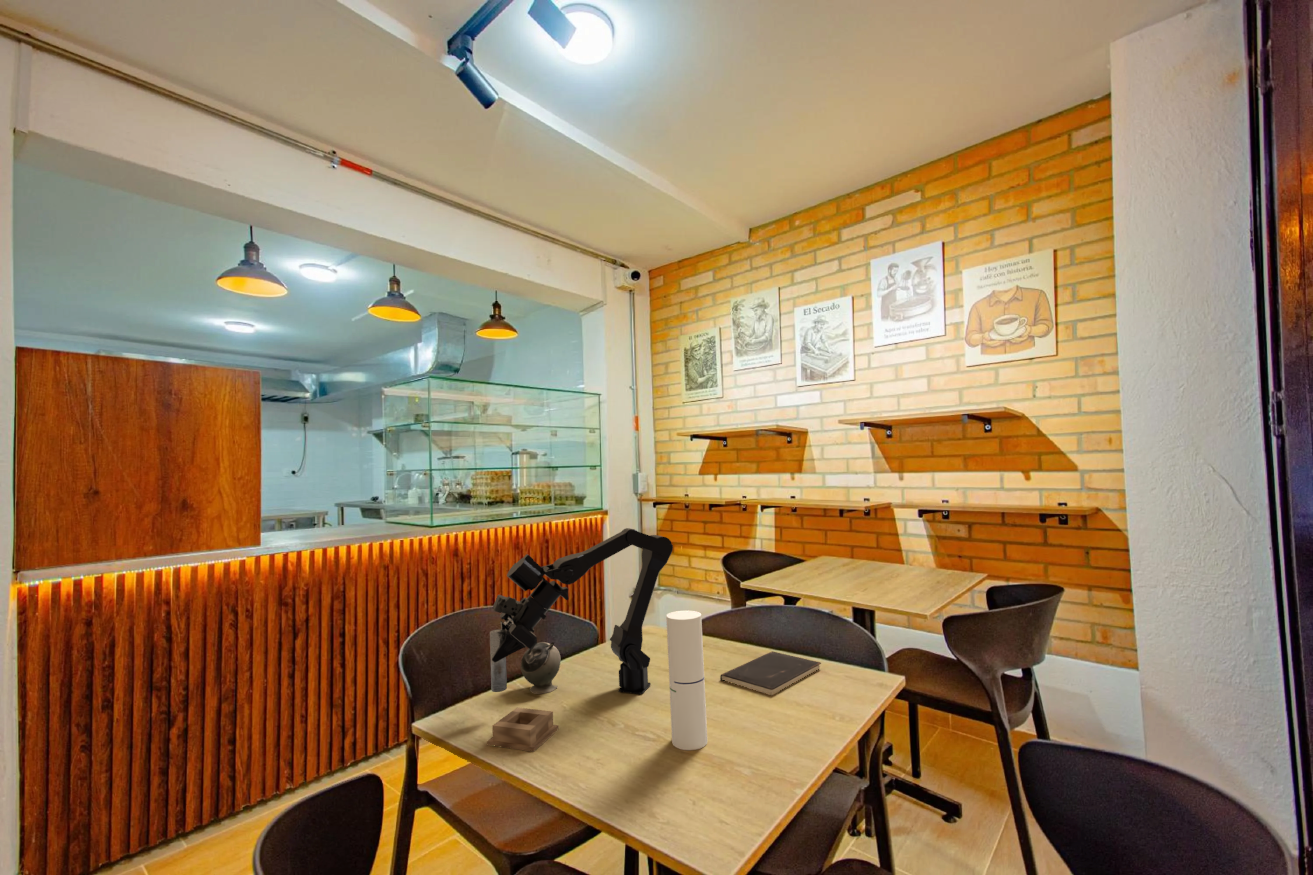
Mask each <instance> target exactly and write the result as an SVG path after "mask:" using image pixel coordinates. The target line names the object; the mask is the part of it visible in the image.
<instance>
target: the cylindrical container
mask: <svg viewBox="0 0 1313 875" xmlns="http://www.w3.org/2000/svg"><path fill="white" fill-rule="evenodd" d="M702 622H703V621H702V613H701V612H699V611H696V610H677V611H671V612H668V613H666V637H667V657H668V658H667V659H668V662H667V664H668V679H669V680H668V681H669V685H668V686H669V705H670V724H671V725H670V726H671V727H670V729H671V742H672V743H671V744H672V745H673V747H675V748H677V749H680V750H683V751H696V750H700V749H702V748H703V747H705V746H707V745H708V727H707V726H708V724H707V706H706V703H707V701H706V684H705V664H704V661H705V660H704V645H703V644H704V643H703V625H702V624H703V623H702Z"/></svg>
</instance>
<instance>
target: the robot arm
mask: <svg viewBox="0 0 1313 875" xmlns="http://www.w3.org/2000/svg"><path fill="white" fill-rule="evenodd" d="M673 545H674V544H673V543H672V541H671V540H670V538H668V537H667V536H663V535H658V534H651V535H650V534H646V533H644V532H640V531H638V530H637V529H635V528H630V527H628V528H627V527H626V528H624V529H622V531H621V530H620V532H618V533H616V534H614V535H613V536H611V537H609V538H607V539H605V540H602V541H601V542H598V544H597V543H596V544H595V545H593V546H592V547H590V548H588V549H585V550H584V551H581V552H577V553H571V554H569V555H566V556H563V557H559V558H557V559H556V560H555V561H554V562H553V563H550V564H546V565H543V566H541V565H540V564H538V563H537V561H535V559H533V557H532V556H530V555H529V554H528V553H527V554H525V555H524V556H523V557H522V558H520V559H519V560H518V561H517V562H514V564H513V565H512V567H510V569H509V570H508V572H507V574H506V577H507V578H508V579H509V580H511V581H512V582H513V583H514V584H516V585H517V586H518V587H519V588H520V589H522V590H523V591H524V592H527V591H528V590H530V591H531V593H530V594H528V597H522V599H520V601H519V600H516V598H515V597H511V596H504V595H502V594H497V596H496V597H495V601H494V604H493V605H492V609H493V611H494V612H497V613H499V618H500V619H501V620H504V622H503V621H501V620H500V629H503V630H505V639H504V640H503V642H502V643H501V645H500V646H499V648H498V650H497V651H496V653H495V654H494V656H493V658H492V661H494V662H497V661H499V660H501V659H503V658H505V657H506V658H507V657H508V656H511V655H512V654H514V653H516V652H518V651H520V650H522V649H526V648H528V649H530V650H532V649H533V647H534V646H535V645H536V644H537V643H538V637H537V635H535V629H534V628H535V627H536V626H537V625H538V623H539V622H540V621H541V619H543V620H545V619H546V618H547V615H546V614H547V613H548V611H549V610H550V609H551V608H552V607H553V605H554V604H555V602H557V600H558V599H559V598H560V597H562V598H563V599H565V600H566V601H569V599H570V598H569V588H568V587H567V586H564V587H562V586H561V585H560V584H559V583H557V582H556V581H559V582H560V583H561V584H563V585H572V584H575V583H576V582H577V581H578V580H579V579H581V578H582V577H584V575H586V574H587V573H588V571H589V570H590V569H592V567H594V566H596V565H598V564H599V563H601V562H603V561H605V560H607V559H608V558H611V557H613V556H614V555H616V554H618V553H620V552H621V551H624V550H625V549H627V548H629V547H630V546H633V547H636V548H638V549H642V551H641V570H640V572H639V574H638V579H637V582H636V585H635V588H634V591H633V594H632V597H631V600H630V603H629V607H628V610H627V614H626V616H625V619H624V621H622V623H621V625H620V626H619V625H617V624H615V625H614V627H613V631H612V632H613V633H612V635H611V637H610V638H609V641H610V648H611V651H612V652H613V654H614V655H615V656H616V657H617V658H618V660H619V661H620V662H622V663H620V664H619V666H620V667H619V670H618V686H619V687H620V688H618V689H617V690H618V692H619V693H624V694H625V693H626V694H628V693H629V694H635V695H636V694H638V695H643V694H644V693H645V692H646V691H647V689H648V688H649V687H651V685H652V683H651V682H649V675H648V673H649V671H648V668H649V665H650V662H651V657H649V656H648V655H647V654H646V653H645V652H644V651H642V646H643V639H644V638H643V626H644V621H645V618H646V615H647V611H648V608H649V605H650V602H651V599H652V595H653V593H654V590H655V586H656V584H657V580H658V576H659V574H660V572H661V571H662V569H663V568H664V567H665V566H666V565H667V563H668V562H669V559H670V557H671V555H672V553H673V550H674V546H673ZM544 576H546V577H547V578H548V579H550V580H551V581H550V582H549V581H548V580H547V579H546V578H545V577H544ZM555 580H556V581H555ZM489 656H490V657H491V654H490V653H489Z"/></svg>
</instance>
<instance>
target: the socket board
mask: <svg viewBox="0 0 1313 875" xmlns="http://www.w3.org/2000/svg"><path fill="white" fill-rule="evenodd" d="M491 727H492V728H491V729H492V730H491V731H492V737H491V738H489V739H488V740H487V741H486V745H487V744H488V745H487V746H490V745H495V746H494V747H497V746H501V747H500V748H504V747H506V748H507V749H511V748H512V749H513V750H519V751H525V752H535V751H537V749H539V748H540V747H541V746H542V745H543V744H544V743H545V742H547V740H549V738H551V737H552V736H553V735H554V734H555V733H556V732H558V730H559V728H560V727H559V724H554V711H552V710H545V709H544V710H543V709H534V708H525V707H515V708H514V709H513V710H512V711H510V712H509V713H507V714H506V715H505V716H503V717H502V718H501V719H499V720H498V721H496V722H495V723H493V724H492V726H491ZM512 749H511V750H512Z"/></svg>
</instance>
